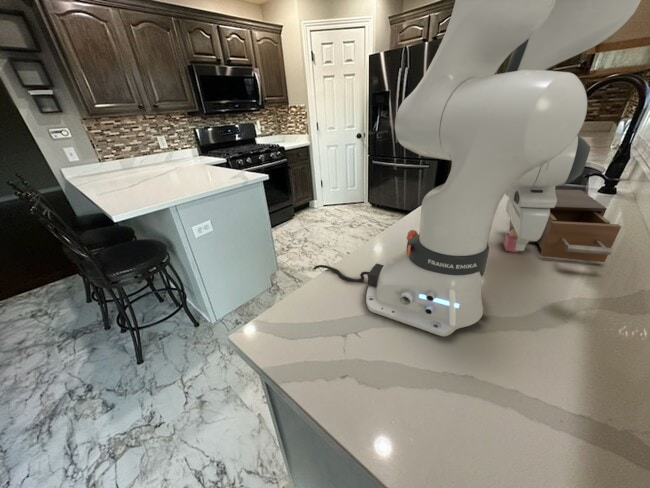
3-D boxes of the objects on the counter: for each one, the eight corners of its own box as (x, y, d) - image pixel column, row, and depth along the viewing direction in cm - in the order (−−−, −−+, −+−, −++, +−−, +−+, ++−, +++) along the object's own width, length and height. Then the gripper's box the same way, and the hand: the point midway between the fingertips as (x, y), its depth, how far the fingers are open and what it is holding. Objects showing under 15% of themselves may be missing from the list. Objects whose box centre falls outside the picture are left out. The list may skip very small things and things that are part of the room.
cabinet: (589, 248, 65) (607, 208, 60) (528, 243, 70) (539, 205, 65) (568, 224, 77) (581, 189, 72) (517, 222, 81) (525, 189, 77)
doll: (505, 250, 68) (510, 231, 65) (503, 244, 70) (508, 225, 68) (517, 251, 67) (523, 232, 64) (514, 245, 69) (520, 226, 67)
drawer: (616, 274, 54) (635, 237, 50) (547, 267, 58) (560, 232, 54) (580, 236, 69) (592, 204, 65) (527, 232, 73) (536, 202, 69)
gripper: (506, 176, 70) (496, 223, 77) (521, 202, 54) (507, 258, 60) (535, 176, 68) (521, 225, 74) (560, 203, 52) (540, 262, 58)
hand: (515, 240), depth 67 cm, fingers open, 8 cm apart
